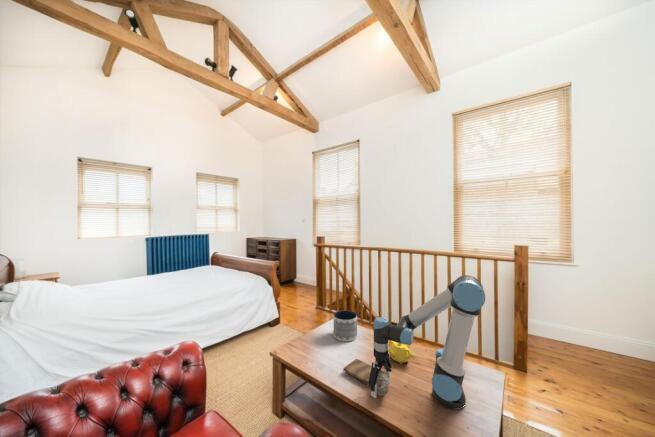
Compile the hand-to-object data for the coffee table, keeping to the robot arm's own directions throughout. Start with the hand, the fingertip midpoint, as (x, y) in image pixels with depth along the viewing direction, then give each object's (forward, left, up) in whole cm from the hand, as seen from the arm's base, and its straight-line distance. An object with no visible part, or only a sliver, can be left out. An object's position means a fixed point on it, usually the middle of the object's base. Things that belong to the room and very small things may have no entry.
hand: (380, 389), depth 124 cm
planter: (+51, -34, -2) cm, 61 cm away
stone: (0, 0, -2) cm, 2 cm away
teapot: (+6, -34, -2) cm, 35 cm away
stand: (+15, -5, -1) cm, 16 cm away
